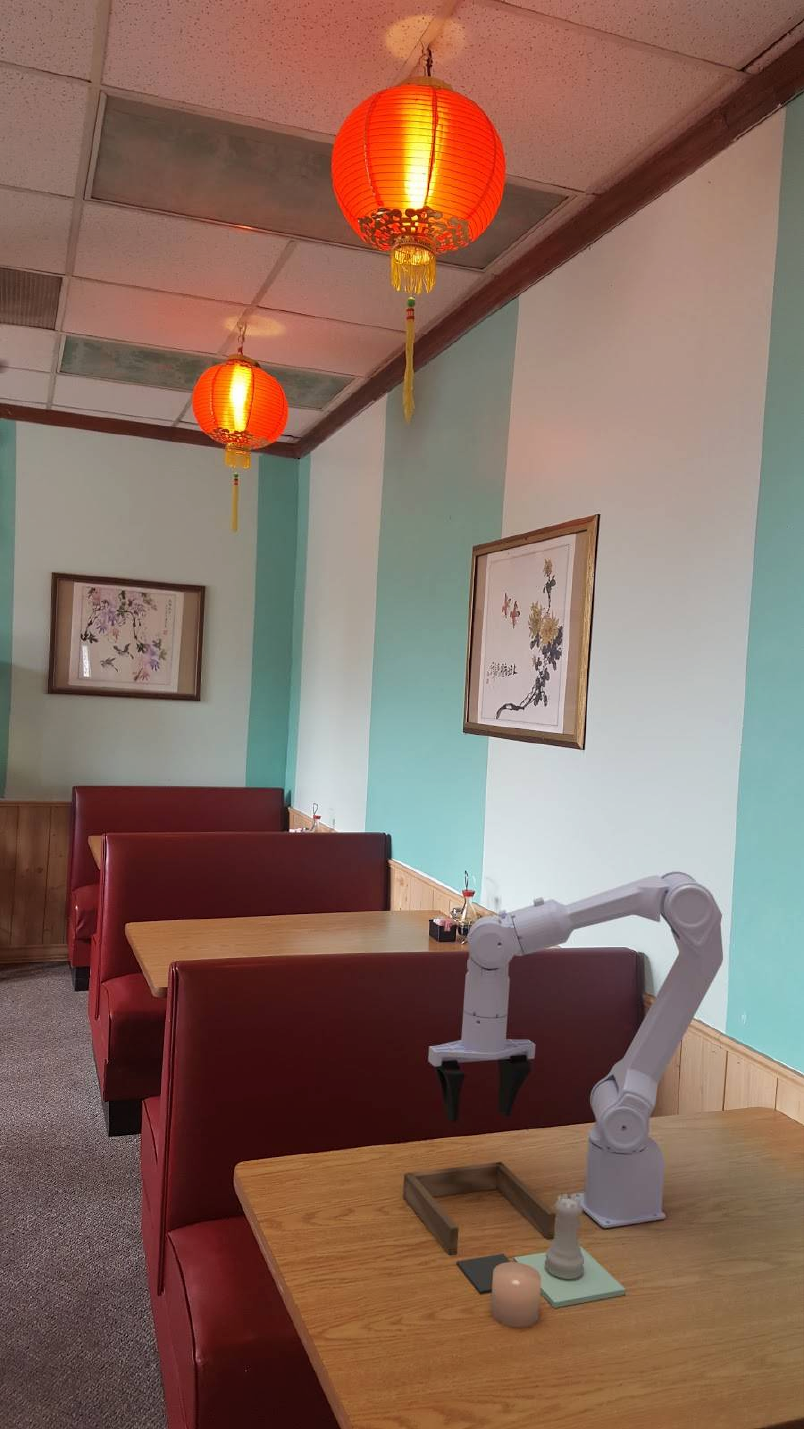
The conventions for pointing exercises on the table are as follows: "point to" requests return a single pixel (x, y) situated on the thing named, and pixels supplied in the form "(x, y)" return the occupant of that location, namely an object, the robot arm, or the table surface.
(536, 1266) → the coaster
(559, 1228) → the rook chess piece
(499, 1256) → the dark gray tile
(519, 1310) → the peach short cylinder
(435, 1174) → the cubby
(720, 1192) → the table surface
